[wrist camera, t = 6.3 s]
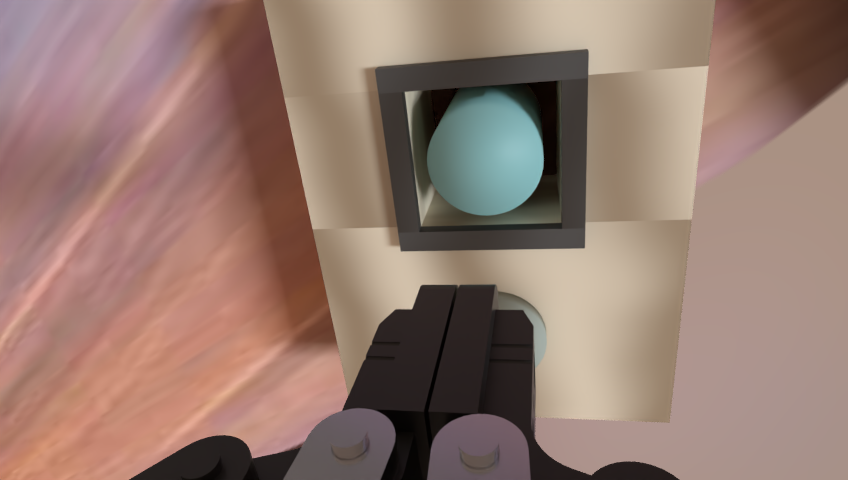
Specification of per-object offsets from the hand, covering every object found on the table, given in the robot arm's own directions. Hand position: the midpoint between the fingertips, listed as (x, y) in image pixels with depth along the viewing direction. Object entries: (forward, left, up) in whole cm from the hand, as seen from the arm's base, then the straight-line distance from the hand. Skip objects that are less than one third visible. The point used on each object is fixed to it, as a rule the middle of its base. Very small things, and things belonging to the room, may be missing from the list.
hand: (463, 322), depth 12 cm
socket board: (0, +3, -15) cm, 15 cm away
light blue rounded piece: (0, 0, -15) cm, 15 cm away
